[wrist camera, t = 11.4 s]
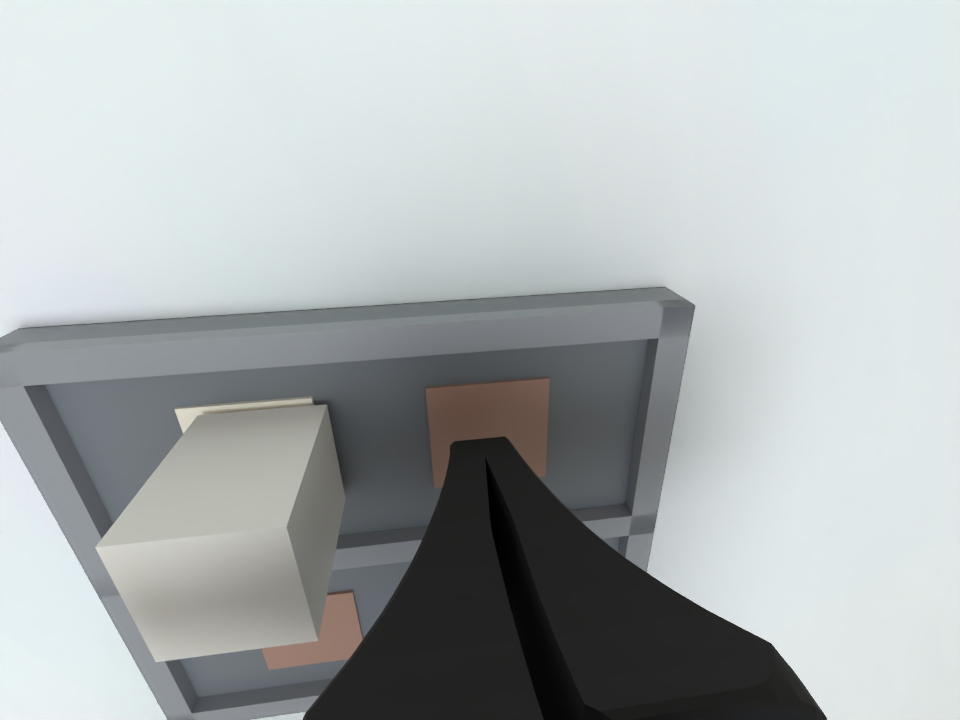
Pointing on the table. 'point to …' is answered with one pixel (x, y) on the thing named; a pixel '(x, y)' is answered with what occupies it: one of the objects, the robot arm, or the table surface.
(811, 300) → the table surface
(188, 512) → the tab
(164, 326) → the grey sorting tray
